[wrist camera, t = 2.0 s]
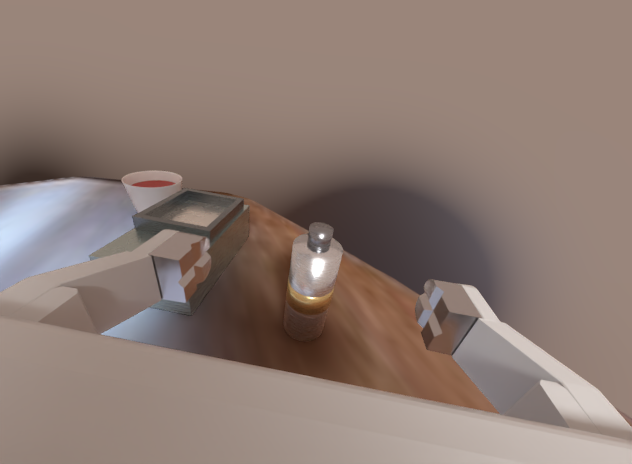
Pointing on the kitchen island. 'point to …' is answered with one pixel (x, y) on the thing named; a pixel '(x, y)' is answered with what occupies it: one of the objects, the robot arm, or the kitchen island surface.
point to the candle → (150, 187)
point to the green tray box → (195, 218)
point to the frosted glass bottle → (311, 282)
